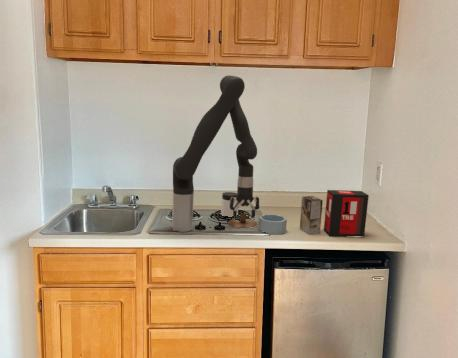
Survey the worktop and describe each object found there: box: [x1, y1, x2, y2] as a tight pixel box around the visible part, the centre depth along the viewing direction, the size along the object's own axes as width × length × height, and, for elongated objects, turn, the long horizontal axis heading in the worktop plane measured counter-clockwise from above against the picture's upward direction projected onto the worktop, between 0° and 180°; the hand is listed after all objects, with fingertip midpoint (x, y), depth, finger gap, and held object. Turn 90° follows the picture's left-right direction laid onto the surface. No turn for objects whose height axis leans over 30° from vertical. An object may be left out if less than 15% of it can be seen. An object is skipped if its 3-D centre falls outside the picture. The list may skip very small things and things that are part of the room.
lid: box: [227, 212, 258, 229], centre depth 209 cm, size 14×14×6 cm
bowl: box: [258, 213, 288, 235], centre depth 201 cm, size 12×12×6 cm
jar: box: [220, 191, 239, 217], centre depth 221 cm, size 9×8×12 cm
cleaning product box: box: [323, 189, 370, 238], centre depth 200 cm, size 16×9×20 cm, turn 94°
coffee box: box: [299, 195, 324, 235], centre depth 202 cm, size 9×6×16 cm
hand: (244, 217), depth 208 cm, fingers open, 8 cm apart
